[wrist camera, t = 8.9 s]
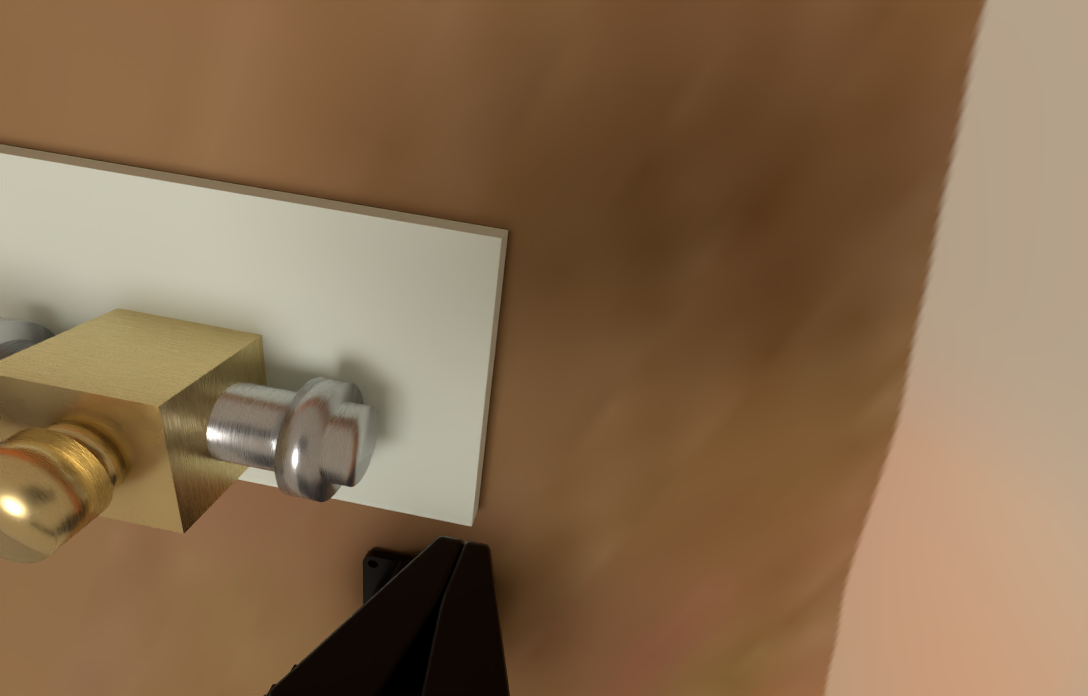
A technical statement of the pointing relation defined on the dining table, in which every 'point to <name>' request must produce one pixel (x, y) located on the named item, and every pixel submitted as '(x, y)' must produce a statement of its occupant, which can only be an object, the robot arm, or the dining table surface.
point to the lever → (47, 493)
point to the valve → (180, 412)
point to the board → (280, 299)
